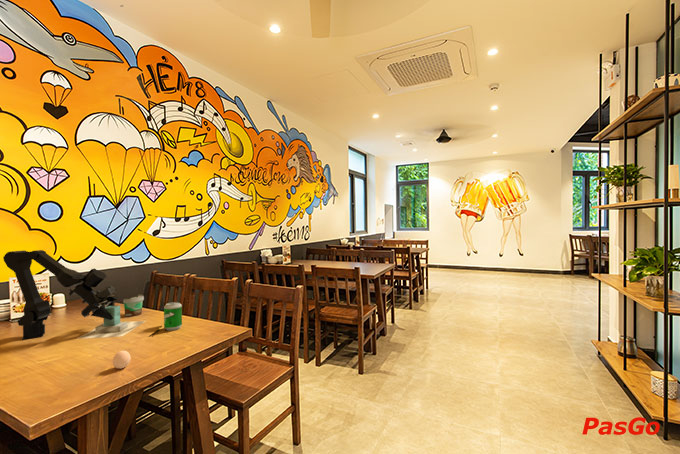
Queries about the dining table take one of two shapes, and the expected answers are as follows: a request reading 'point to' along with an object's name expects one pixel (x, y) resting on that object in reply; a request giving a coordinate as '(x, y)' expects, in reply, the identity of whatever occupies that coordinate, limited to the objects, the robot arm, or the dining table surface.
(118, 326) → the block
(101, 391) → the dining table surface
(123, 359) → the egg
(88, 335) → the birch board
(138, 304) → the food container
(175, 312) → the soda can
